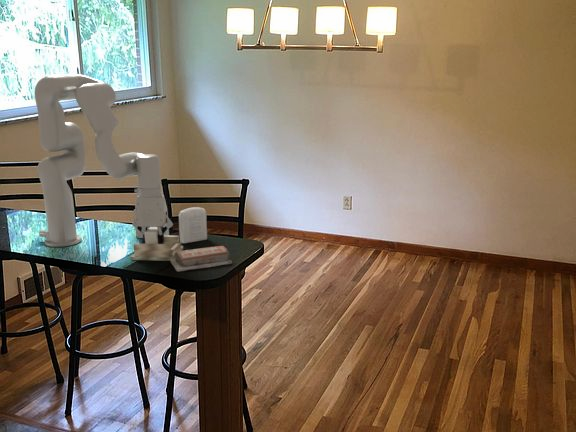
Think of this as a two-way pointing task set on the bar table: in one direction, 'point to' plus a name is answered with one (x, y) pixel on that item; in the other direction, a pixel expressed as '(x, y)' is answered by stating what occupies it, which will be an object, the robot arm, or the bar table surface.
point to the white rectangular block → (151, 235)
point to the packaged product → (201, 258)
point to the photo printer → (192, 225)
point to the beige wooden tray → (157, 250)
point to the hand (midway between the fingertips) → (154, 244)
